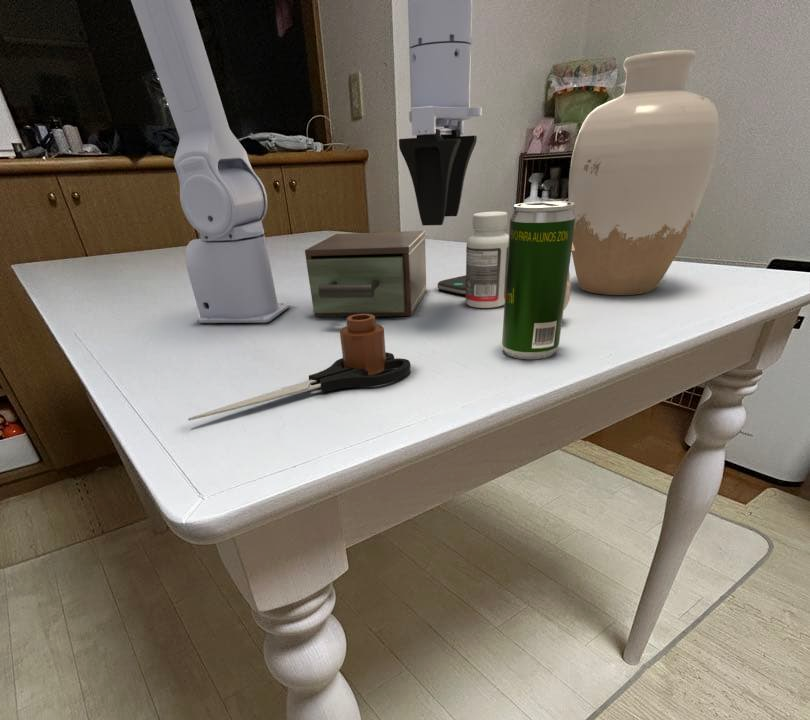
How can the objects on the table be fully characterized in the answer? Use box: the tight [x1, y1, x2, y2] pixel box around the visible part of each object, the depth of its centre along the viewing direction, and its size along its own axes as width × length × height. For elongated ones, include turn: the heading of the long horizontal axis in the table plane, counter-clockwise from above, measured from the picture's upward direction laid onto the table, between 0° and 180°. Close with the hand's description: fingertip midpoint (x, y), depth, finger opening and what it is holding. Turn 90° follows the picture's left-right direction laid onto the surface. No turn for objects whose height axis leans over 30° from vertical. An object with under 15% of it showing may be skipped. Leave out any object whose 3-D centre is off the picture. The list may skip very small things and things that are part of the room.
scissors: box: [187, 351, 412, 421], centre depth 43 cm, size 7×1×20 cm
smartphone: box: [437, 274, 466, 296], centre depth 73 cm, size 8×1×15 cm
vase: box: [567, 49, 720, 296], centre depth 62 cm, size 16×16×23 cm
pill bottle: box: [465, 211, 509, 309], centre depth 62 cm, size 5×5×10 cm
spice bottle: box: [339, 314, 387, 376], centre depth 46 cm, size 4×4×4 cm
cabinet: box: [304, 230, 427, 318], centre depth 66 cm, size 13×12×7 cm
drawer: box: [305, 254, 405, 314], centre depth 63 cm, size 17×11×6 cm, turn 170°
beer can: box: [501, 200, 576, 360], centre depth 46 cm, size 5×5×12 cm
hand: (440, 220), depth 55 cm, fingers open, 7 cm apart
